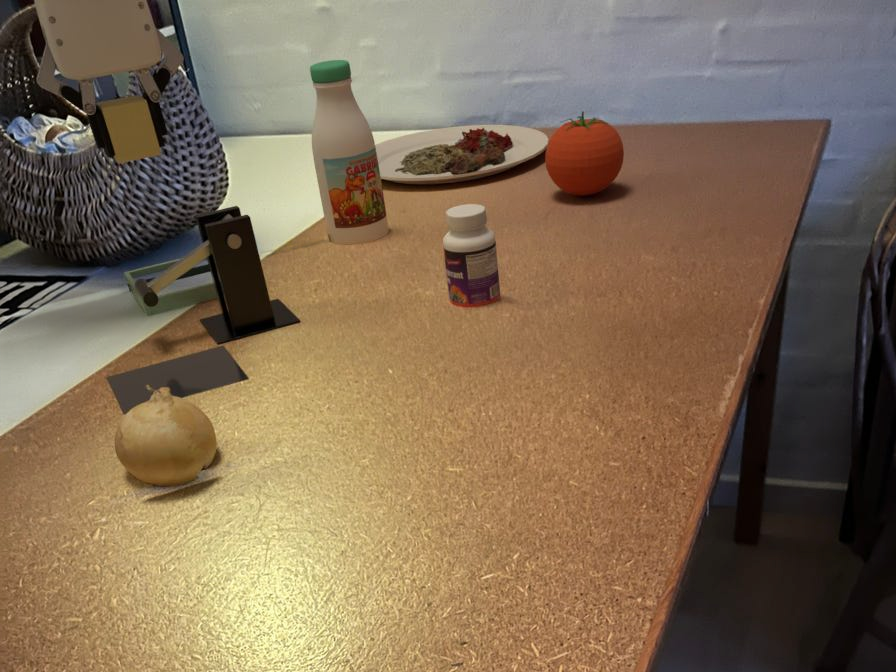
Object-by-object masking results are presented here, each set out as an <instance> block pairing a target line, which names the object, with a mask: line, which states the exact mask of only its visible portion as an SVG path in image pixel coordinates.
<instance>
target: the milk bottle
mask: <svg viewBox="0 0 896 672" xmlns="http://www.w3.org/2000/svg"><path fill="white" fill-rule="evenodd" d="M309 72H310V77H311V82H312V87H313V88H314V89H315V93H316V105H315V112H314V119H313V124H312V128H311V150H312V157H313V164H314V169H315V174H316V180H317V186H318V190H319V197H320V203H321V207H322V212H323V218H324V222H325V227H326V231H327V237H328V242H330V243H332V244H336V245H340V246H341V245H342V246H352V245H353V246H354V245H361V244H366V243H370V242H374V241H377V240H380V239H382V238H384V237H386V236H387V235H388V234H389V223H388V216H387V208H386V203H385V197H384V191H383V190H384V189H383V185H382V179H381V177H380V171H379V165H378V158H377V153H376V148H375V145H376V142H375V139H374V134H373V132H372V129H371V126H370V124H369V121H368V120H367V119H366V116H365V115H364V112H362V110H361V108H360V106H359V104H358V102H357V100H356V98H355V96H354V92H353V89H352V82H353V79H352V71H351V64H350V62H349V61H348V60H345V59H333V60H332V59H331V60H324V61H320V62H317V63H313V64H312V65H311V66H310V67H309Z"/></svg>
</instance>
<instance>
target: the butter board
mask: <svg viewBox="0 0 896 672" xmlns="http://www.w3.org/2000/svg"><path fill="white" fill-rule="evenodd" d="M105 378H106V381H107V382H108V384H109V387H110V389H111V392H112V394H113V395H114V398H115V400H116V402H117V404H118V406H119V409H120V410H121V413H122V415H123V416H125V415H126V414H127V413H128V412H129V411H130V410H131V409H133V408H134V407H136V406H137V405H140V404H142V403H144V402H147V401H149V400H150V398H151V396H152V395H153V391H151V392H149V390H147V388H146V387H147V386H146V385H149V387H151V389H154V390H159V389H160V388H162V387H165V388H170V393H171V396H176V397H180V398H183V399H185V398H187V397H192V396H195V395H198V394H203V393H205V392H208V391H213V390H216V389H221V388H223V387H226V386H230V385H233V384H237V383H240V382H243V381H248V380H250V378H249V376H248V375H247V373H246V372H245V371H244V370H243V368H241V366H240V365H239V364H238V362H237V361H236V360H235V358H234V356H232V354H231V353H230V352H229V351H228V349H227V348H226V347H225V345H223V344H221V345H218V346H216V347H212V348H208V349H204V350H200V351H197V352H194V353H191V354H187V355H183V356H178V357H175V358H171V359H168V360H163V361H161V362H157V363H153V364H149V365H146V366H142V367H138V368H135V369H132V370H128V371H124V372H120V373H116V374H113V375H109V376H106V377H105Z"/></svg>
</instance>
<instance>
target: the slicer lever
mask: <svg viewBox="0 0 896 672" xmlns="http://www.w3.org/2000/svg"><path fill="white" fill-rule="evenodd" d="M230 218H233V217H232V216H231V215H230V214H227V215H226V216H224V217H223V218H222V219H220V220H219V221H222V220H226V219H230ZM211 254H212V251H211V247H210V243H209V240H207V241H205V242H204V243H203V242H202V243H201V244H199V246H197V247H196V248H194V249H193V250H191V251H190V252H188V253H187V254H186V255H185V256H183V257H181V258H182V259H181V258H179V259H180V260H179V261H178V262H176V263H175V264H174V265H172V266H171V267H169V268H168V269H167V270H163V271H161V273H159V274H158V275H157V276H154V277H155V278H154V277H153V278H154V279H153V280H151V281H150V282H149V283H148V282H147V281H146V278H145V279H144V278H138V279H137V280H135V285H134V286H135V289H136V291H137V292H138V294H139V295H140V297H141V298H142V300H143V301H144V303H145V304H146V305H147V306H149V307H154V306H156V305H157V304H158V300H159V299H158V296H159V295H158V294H159V293H160V292H162V291H163V290H164V289H166V288H167V287H168V286H170V285H171V284H172V283H173V282H175V281H177V280H176V279H178V278H179V277H181V276H182V275H183V274H185V273H186V272H187V271H189V270H190V269H192V268H194V267H197V265H199V264H200V263H202V262H204V261H205V260H204V259H205V258H207V257H208V256H210V255H211ZM203 260H204V261H203Z"/></svg>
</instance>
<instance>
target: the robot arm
mask: <svg viewBox="0 0 896 672" xmlns="http://www.w3.org/2000/svg"><path fill="white" fill-rule="evenodd" d="M33 2H34V6H35V9H36V13H37V17H38V20H39V24H40V27H41V31H42V34H43V38H44V40H45V46H44V50H43V54H42V57H41V61H40V65H39V68H38V72H37V75H36V83H37V84H38V86H39V87H40V88H42V89H44V90H46V91H47V92H50V93H52V94H54V95H56V96H58V97H60V98H62V99H65V100H66V101H67V102H69V103H70V104H71V105H73V106H75V107H76V108H78V109H79V110H81V111H82V112H83V113H85V115H86V117H87V121H88V125H89V127H90V130H91V133H92V136H93V139H94V143H95V146H96V148H97V149H98V150H100V149H103V151H104V153H105V154H106V156H107V157H108V158H110V159H111V158H114V155H115V151H114V148H113V145H112V142H111V139H110V135H109V132H108V129H107V126H106V122H105V119H104V116H103V114H102V113H101V112H100V110H99V107H98V106H97V104H96V103H97V102H96V93H95V83H94V78H95V79H96V78H99V77H100V78H101V77H105V76H111V75H117V74H122V73H127V72H133V74H134V76H135V78H136V80H137V82H138V84H139V86H140V87H141V90H142V92H143V93H142V97H143V98H144V99H145V100H146V101H147V104H148V108H149V111H150V115H151V118H152V122H153V126H154V129H155V133H156V136H157V140H158V143H159V147H160V148H163V147H164V148H165V147H166V142H165V139H164V136H168V135H169V134H168V133H169V132H168V128H167V125H166V121H165V118H164V114H163V110H162V105H161V103H160V101H161V100H162V95H163V93H164V92H165V90H166V88H167V85H168V84H169V83H170V80H171V78H172V77H173V75H174V74H175V73H176V71H177V70H178V69H179V68H180V67H181V65H182V64H183V62H184V59H185V58H184V55H183V53H182V52H181V51H180V50H179V48H177V47H176V46H175V45H174V44H173V43H172V42H171V41H170V40H169V39H168V38H167V37H166V36H165V35H164V34H163V32H162V31H160V30H159V29H158V28H157V27H156V25H155V23H154V19H153V16H152V13H151V10H150V8H149V4H148V1H147V0H33ZM162 55H163V60H162V61H161V59H162ZM160 61H161V63H160V64H159V66H157V67H156V69H155V70H154V72H153V74H152V73H151V71H150V68H151V67H153V66H155V65H156V64H158V63H159V62H160ZM56 71H57V72H58V73H60V75H61V76H62V77H64V78H66V79H67V80H74V81H76V84H77V90H76V89H75V88H73V87H72V86H70V85H69V84H67V83H65V82H63V81H60V80H59V79H57V78H56V75H55V74H56Z"/></svg>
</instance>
